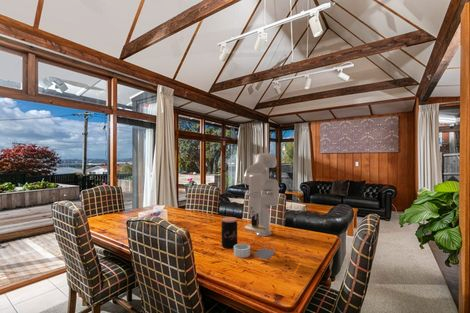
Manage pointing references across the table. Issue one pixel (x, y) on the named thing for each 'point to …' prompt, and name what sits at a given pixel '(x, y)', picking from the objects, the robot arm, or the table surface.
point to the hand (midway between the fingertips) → (255, 224)
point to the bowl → (241, 250)
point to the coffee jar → (229, 232)
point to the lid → (255, 227)
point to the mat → (264, 253)
